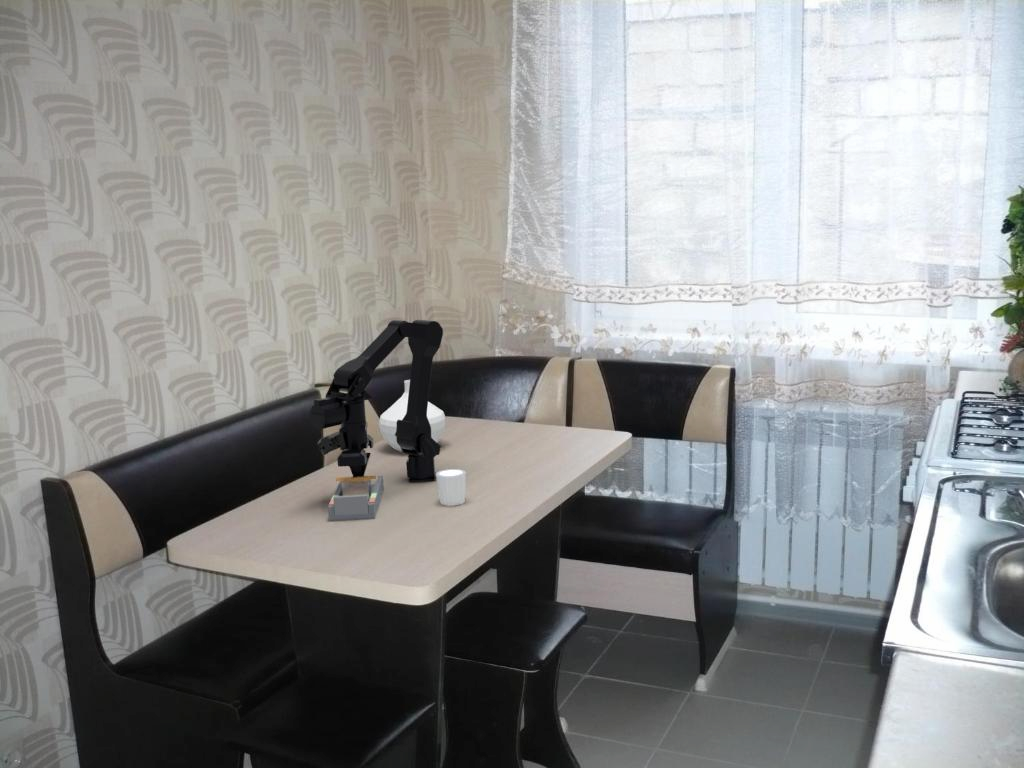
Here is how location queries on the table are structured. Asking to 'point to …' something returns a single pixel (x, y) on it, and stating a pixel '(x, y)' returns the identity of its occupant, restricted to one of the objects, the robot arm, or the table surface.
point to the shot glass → (451, 486)
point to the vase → (398, 413)
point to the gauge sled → (356, 485)
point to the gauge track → (355, 503)
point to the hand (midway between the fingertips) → (358, 485)
